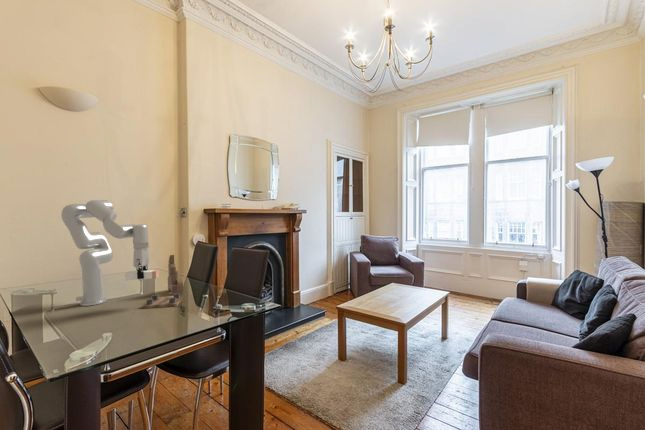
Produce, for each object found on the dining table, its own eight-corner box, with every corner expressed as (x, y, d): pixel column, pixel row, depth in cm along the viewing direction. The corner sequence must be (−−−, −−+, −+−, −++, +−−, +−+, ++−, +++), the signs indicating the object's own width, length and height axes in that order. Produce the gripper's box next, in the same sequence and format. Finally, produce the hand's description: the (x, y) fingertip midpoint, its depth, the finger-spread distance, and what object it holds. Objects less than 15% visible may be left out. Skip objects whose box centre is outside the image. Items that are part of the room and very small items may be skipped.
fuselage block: (125, 280, 171) (125, 273, 171) (129, 278, 176) (129, 271, 176) (156, 278, 174) (155, 271, 174) (159, 276, 179) (158, 269, 179)
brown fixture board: (142, 308, 169) (142, 301, 169) (151, 300, 183) (151, 294, 183) (176, 306, 173) (176, 299, 173) (183, 298, 186) (183, 292, 186)
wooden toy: (183, 293, 197) (182, 255, 197) (172, 295, 193) (171, 256, 192) (178, 288, 210) (177, 252, 209) (167, 290, 205) (166, 253, 205)
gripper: (140, 244, 182) (141, 274, 183) (127, 248, 166) (128, 281, 166) (153, 244, 184) (155, 273, 184) (142, 247, 167) (143, 280, 167)
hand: (142, 277), depth 175 cm, fingers closed on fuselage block, 5 cm apart
